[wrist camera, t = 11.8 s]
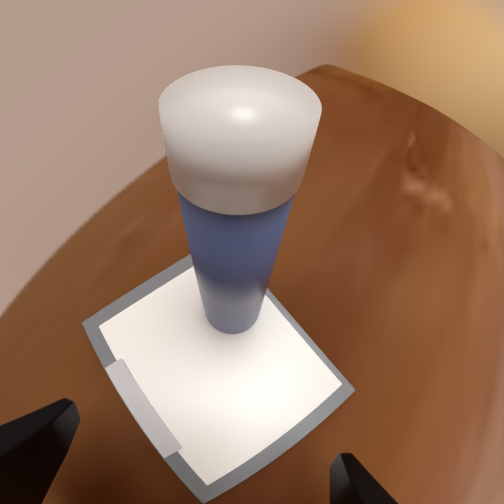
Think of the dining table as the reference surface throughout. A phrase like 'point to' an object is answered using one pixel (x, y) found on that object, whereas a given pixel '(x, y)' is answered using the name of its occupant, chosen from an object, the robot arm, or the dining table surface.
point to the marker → (236, 177)
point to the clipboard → (213, 380)
